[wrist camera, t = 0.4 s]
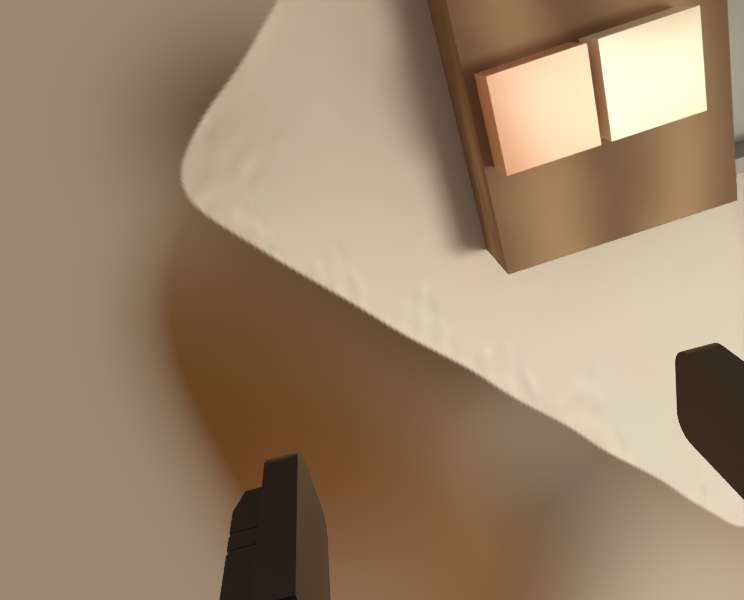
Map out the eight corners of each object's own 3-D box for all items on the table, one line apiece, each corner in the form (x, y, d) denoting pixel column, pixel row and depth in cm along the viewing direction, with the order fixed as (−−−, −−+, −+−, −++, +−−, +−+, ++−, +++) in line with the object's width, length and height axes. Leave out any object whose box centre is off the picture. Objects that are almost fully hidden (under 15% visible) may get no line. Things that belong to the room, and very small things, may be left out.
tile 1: (673, 7, 28) (699, 5, 26) (681, 105, 29) (707, 110, 28) (578, 39, 28) (597, 39, 26) (593, 135, 30) (611, 141, 28)
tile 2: (568, 42, 28) (586, 42, 26) (582, 138, 30) (601, 144, 28) (473, 73, 28) (485, 76, 26) (494, 167, 30) (507, 176, 28)
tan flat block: (666, -136, 29) (719, -160, 25) (692, 183, 35) (737, 200, 32) (415, -50, 29) (432, -62, 26) (487, 249, 36) (508, 274, 32)
